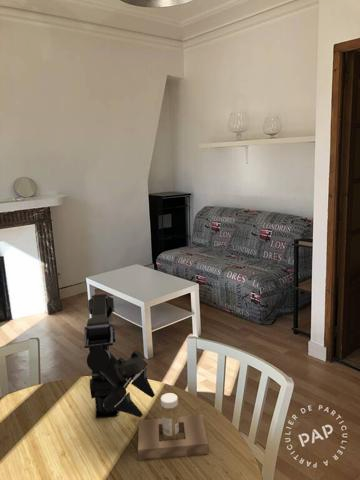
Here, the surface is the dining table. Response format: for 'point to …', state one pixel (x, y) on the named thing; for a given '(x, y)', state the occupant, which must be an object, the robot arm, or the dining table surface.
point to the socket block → (174, 448)
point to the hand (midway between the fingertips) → (147, 406)
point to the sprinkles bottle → (170, 417)
